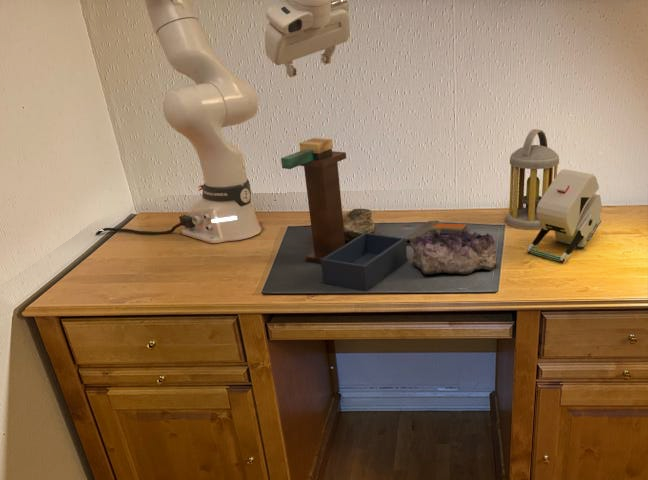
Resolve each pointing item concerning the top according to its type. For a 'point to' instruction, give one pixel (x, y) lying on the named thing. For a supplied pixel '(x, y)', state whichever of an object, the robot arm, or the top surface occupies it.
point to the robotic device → (568, 212)
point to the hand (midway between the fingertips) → (308, 68)
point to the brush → (308, 152)
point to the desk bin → (364, 261)
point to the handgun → (436, 229)
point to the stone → (357, 223)
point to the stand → (325, 205)
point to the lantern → (530, 180)
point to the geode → (454, 253)
